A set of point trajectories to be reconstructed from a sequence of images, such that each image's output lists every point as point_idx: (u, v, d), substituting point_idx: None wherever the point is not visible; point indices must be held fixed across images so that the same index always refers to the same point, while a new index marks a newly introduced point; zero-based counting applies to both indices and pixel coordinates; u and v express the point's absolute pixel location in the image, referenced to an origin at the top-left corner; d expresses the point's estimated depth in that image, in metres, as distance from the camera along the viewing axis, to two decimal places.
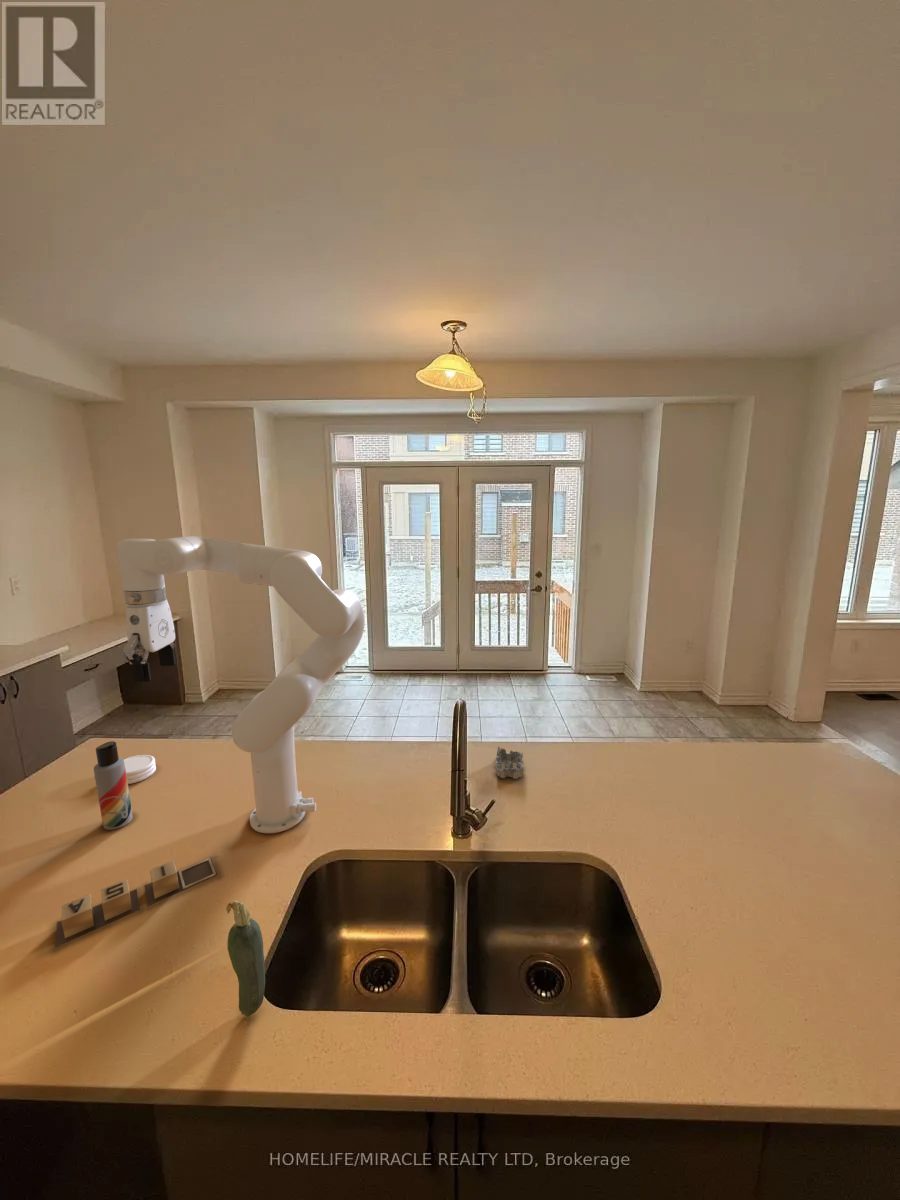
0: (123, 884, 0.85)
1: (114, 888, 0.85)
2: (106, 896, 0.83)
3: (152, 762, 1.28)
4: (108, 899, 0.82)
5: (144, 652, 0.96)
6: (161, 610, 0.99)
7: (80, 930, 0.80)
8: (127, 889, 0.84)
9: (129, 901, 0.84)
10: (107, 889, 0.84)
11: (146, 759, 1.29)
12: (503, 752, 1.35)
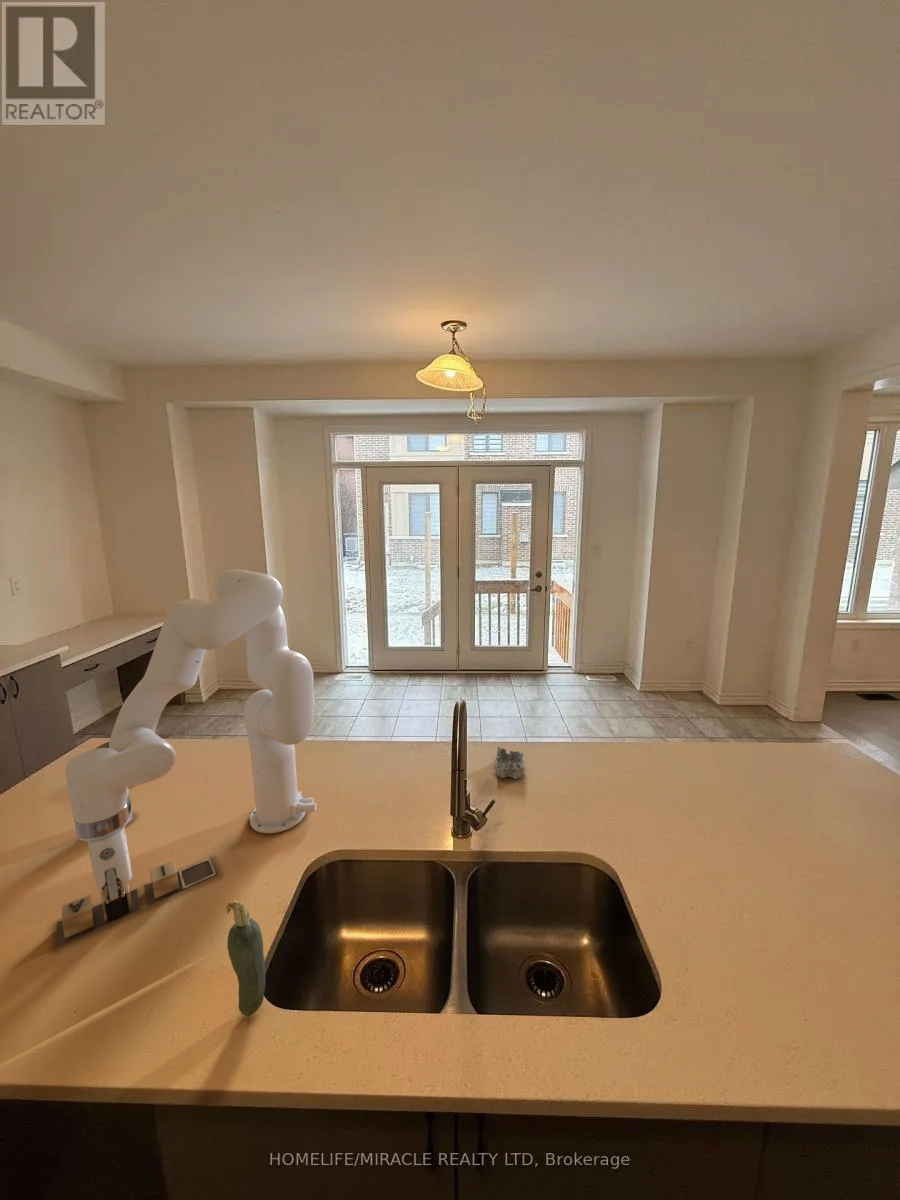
0: (123, 884, 0.85)
1: None
2: None
3: None
4: None
5: (121, 885, 0.82)
6: None
7: (80, 930, 0.80)
8: (127, 889, 0.84)
9: (129, 901, 0.84)
10: None
11: None
12: (503, 752, 1.35)
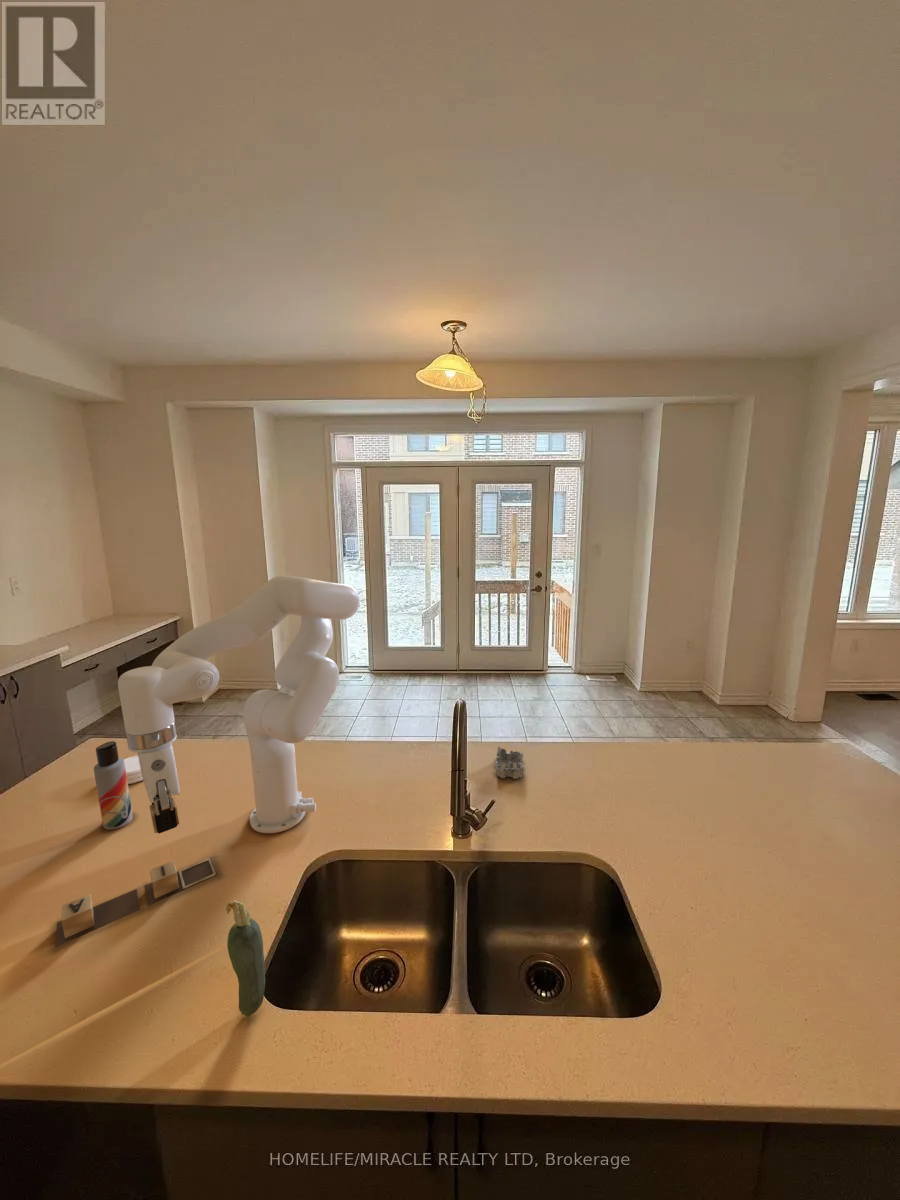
0: None
1: None
2: (155, 810, 0.86)
3: None
4: None
5: (170, 799, 0.85)
6: None
7: (80, 930, 0.80)
8: (174, 805, 0.87)
9: (177, 816, 0.87)
10: None
11: None
12: (503, 752, 1.35)
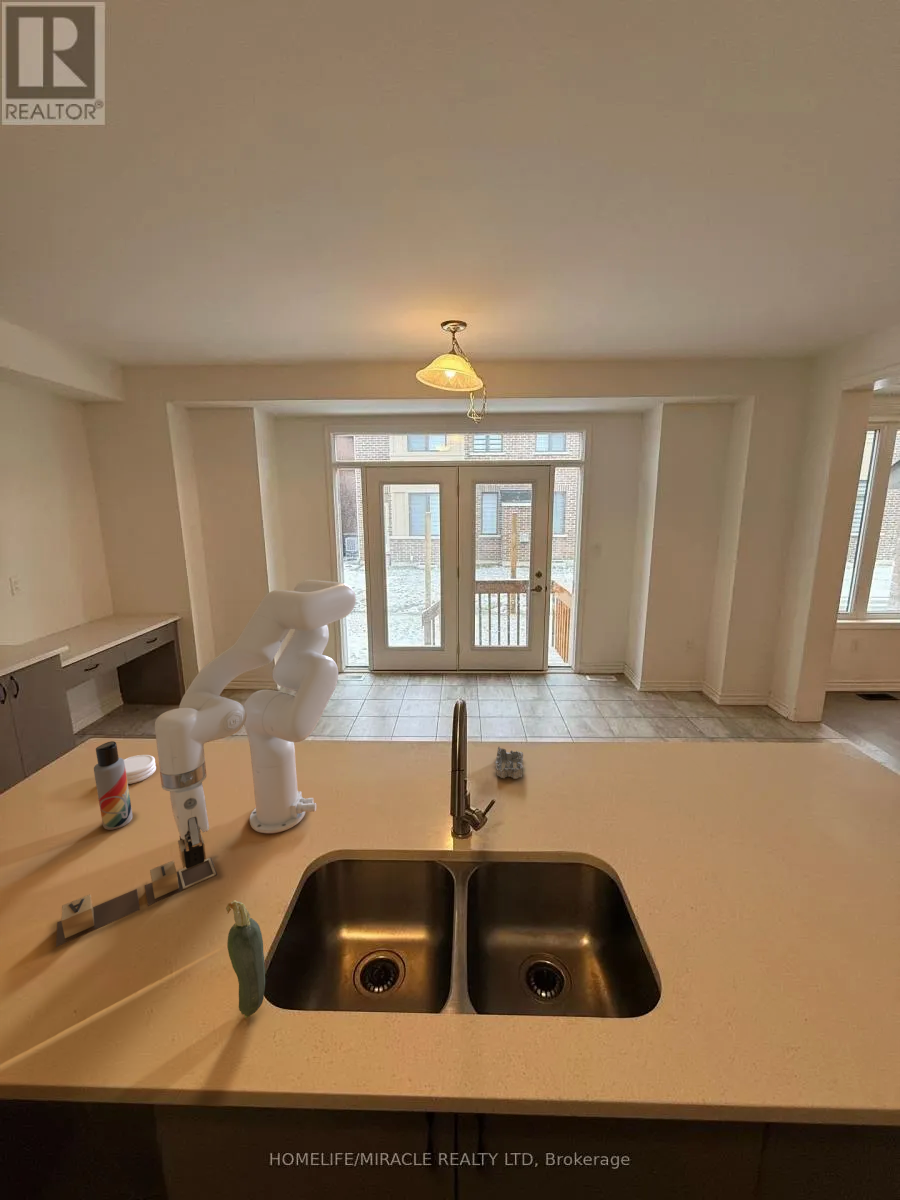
0: None
1: (190, 839, 0.91)
2: (184, 846, 0.90)
3: (152, 762, 1.28)
4: None
5: (199, 835, 0.89)
6: None
7: (80, 930, 0.80)
8: (202, 840, 0.91)
9: (204, 851, 0.91)
10: (183, 840, 0.91)
11: (146, 759, 1.29)
12: (503, 752, 1.35)
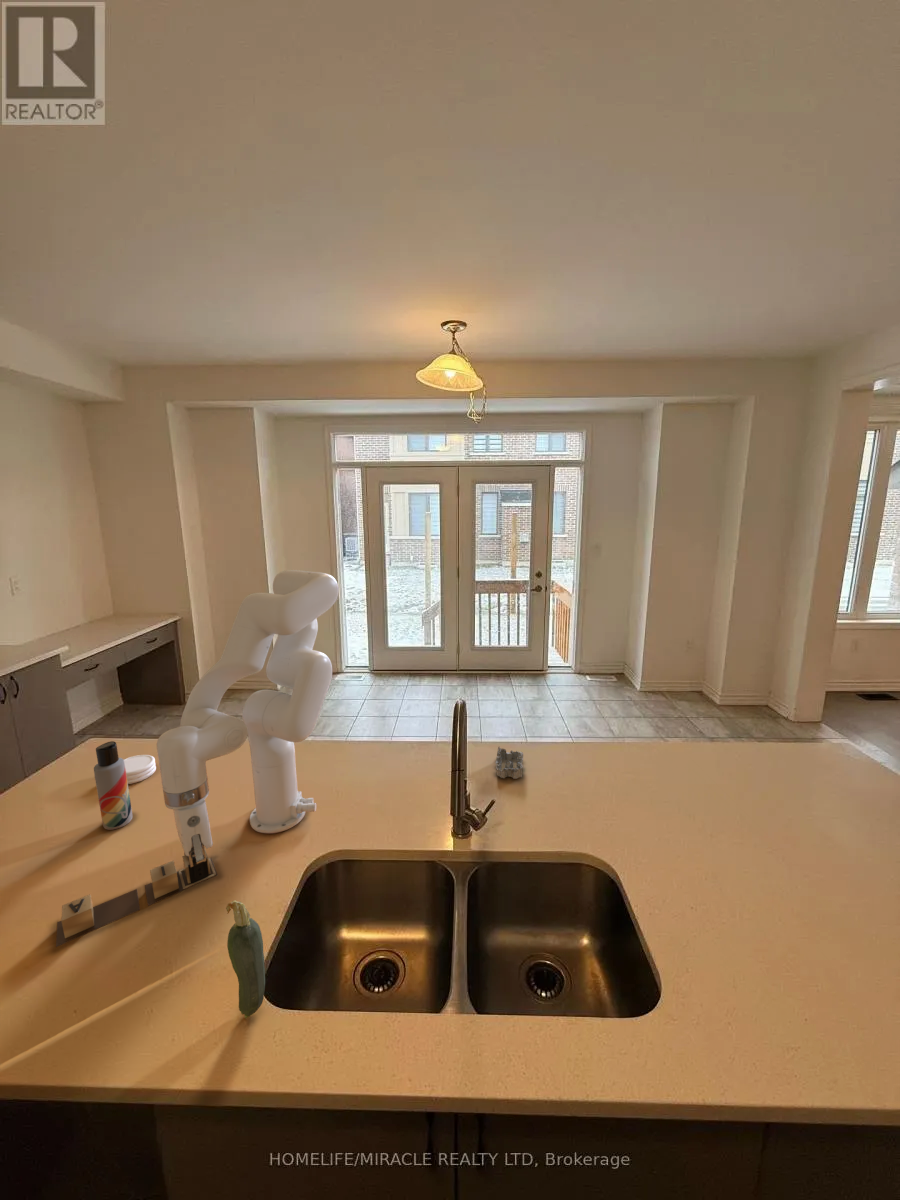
0: None
1: (194, 855, 0.93)
2: (188, 861, 0.91)
3: (152, 762, 1.28)
4: None
5: (203, 851, 0.90)
6: None
7: (80, 930, 0.80)
8: (206, 855, 0.92)
9: (208, 866, 0.92)
10: None
11: (146, 759, 1.29)
12: (503, 752, 1.35)
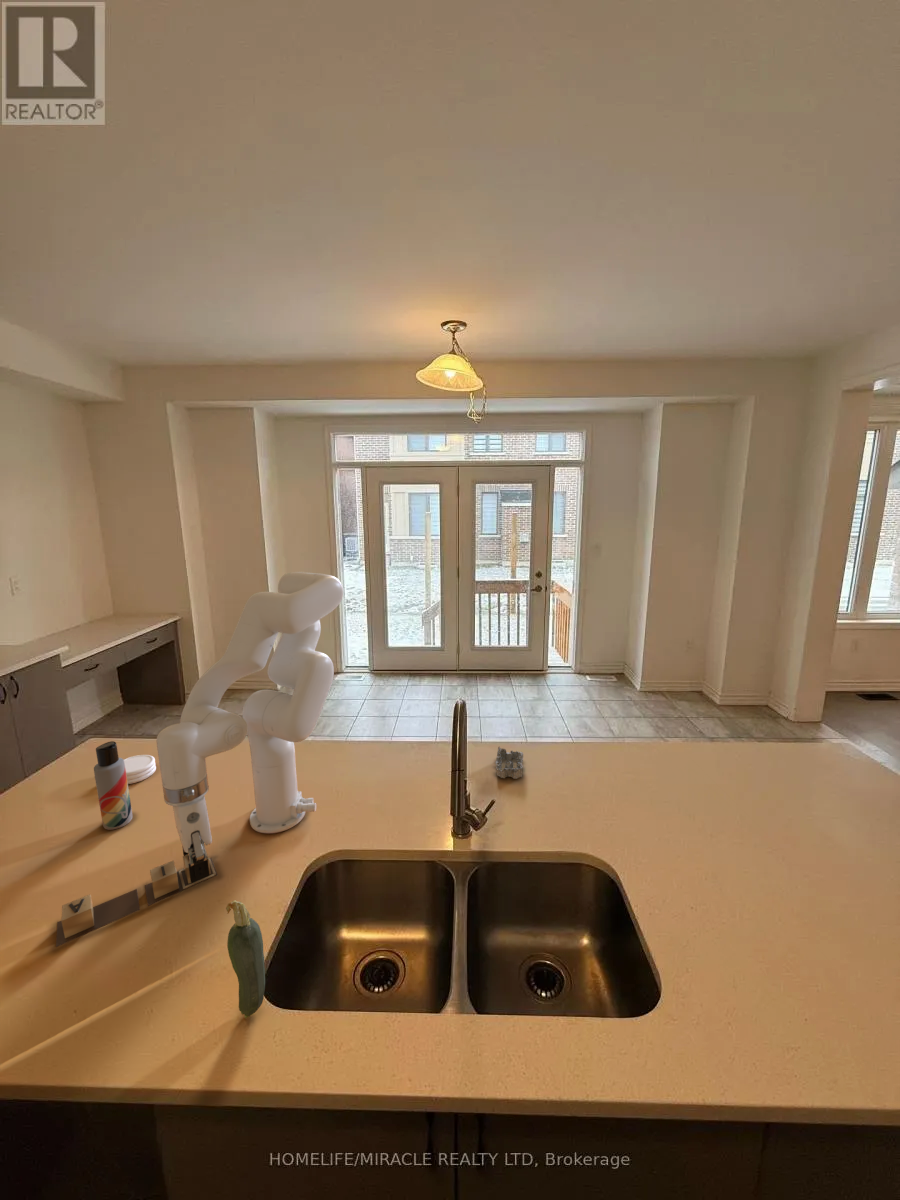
0: None
1: None
2: (188, 861, 0.91)
3: (152, 762, 1.28)
4: None
5: (203, 848, 0.89)
6: None
7: (80, 930, 0.80)
8: None
9: None
10: (188, 856, 0.92)
11: (146, 759, 1.29)
12: (503, 752, 1.35)
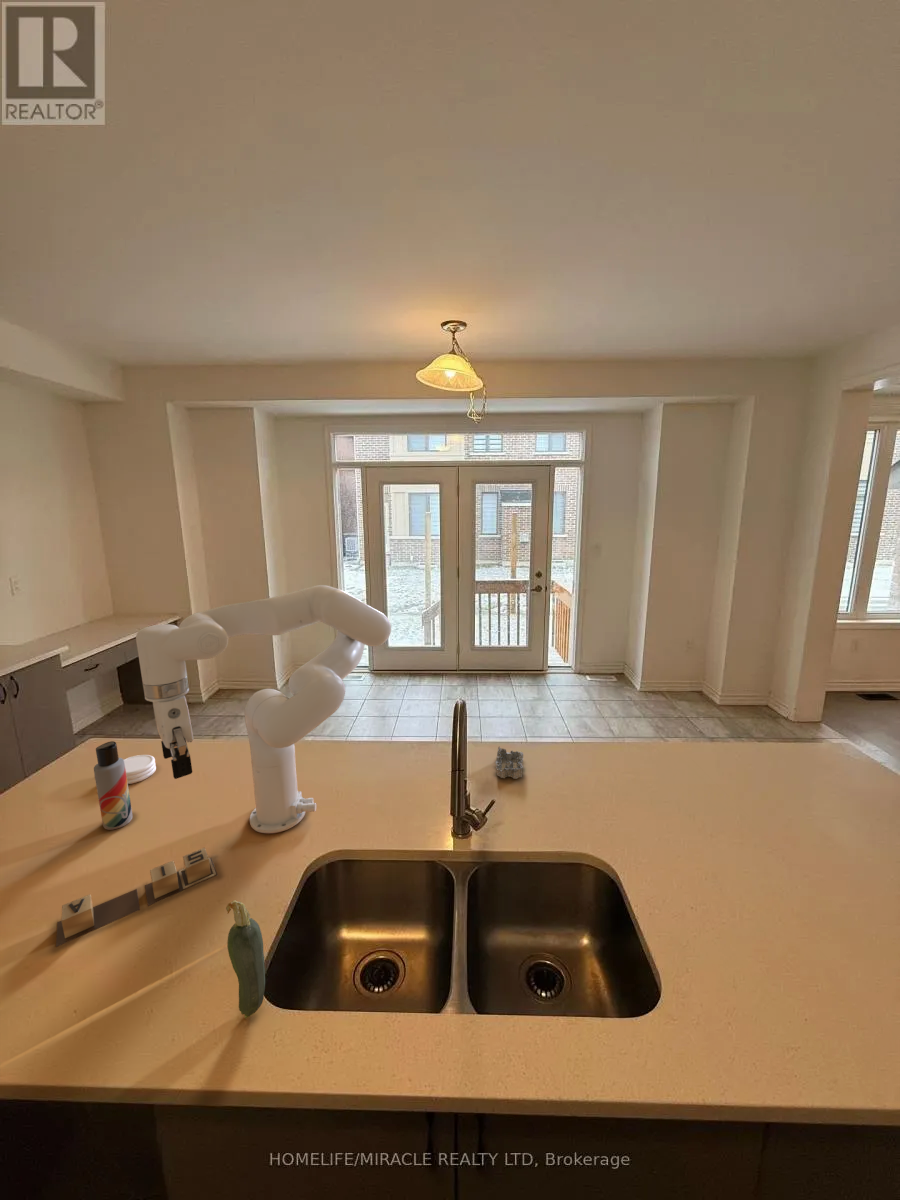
0: (202, 852, 0.93)
1: (195, 855, 0.93)
2: (188, 861, 0.91)
3: (152, 762, 1.28)
4: (191, 864, 0.90)
5: (185, 744, 0.91)
6: None
7: (80, 930, 0.80)
8: (206, 856, 0.92)
9: (208, 867, 0.92)
10: (188, 856, 0.92)
11: (146, 759, 1.29)
12: (503, 752, 1.35)
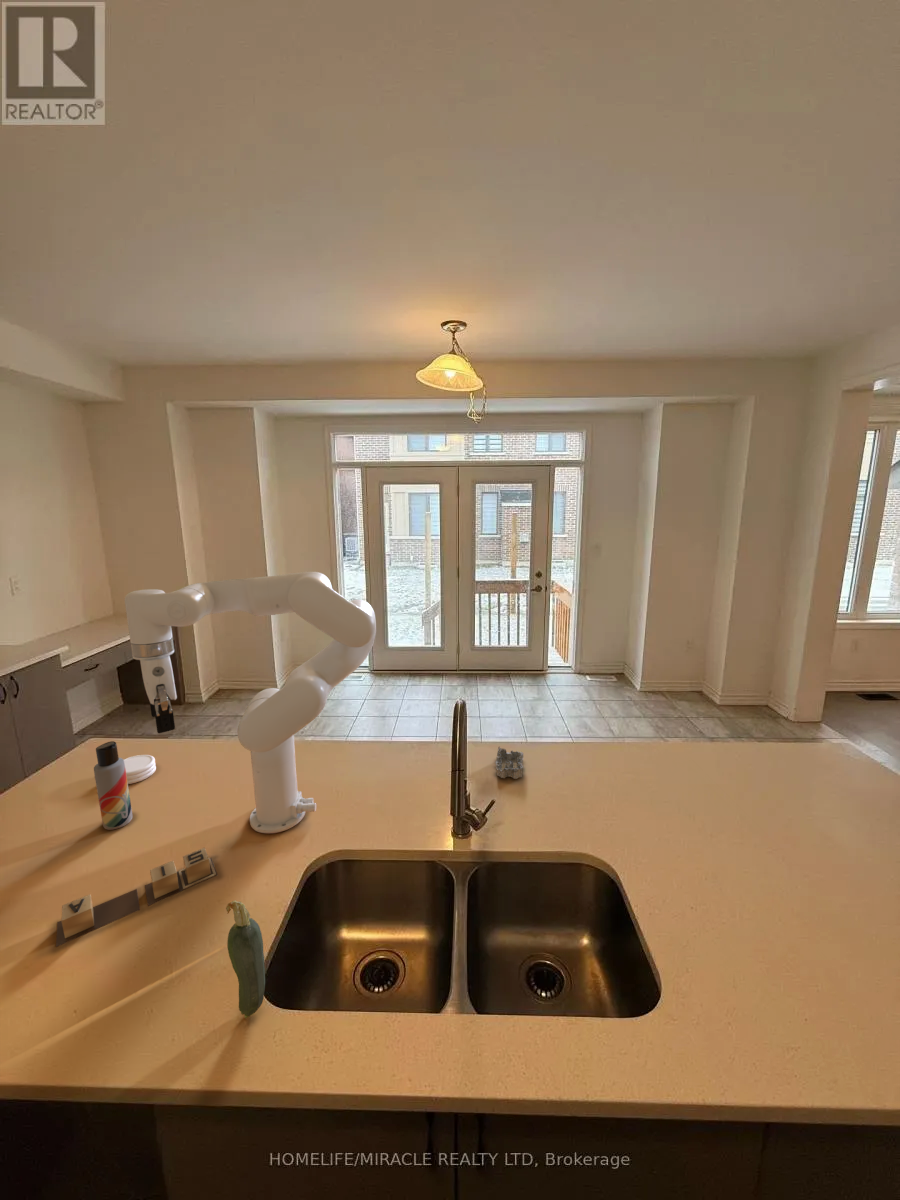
0: (202, 852, 0.93)
1: (195, 855, 0.93)
2: (188, 861, 0.91)
3: (152, 762, 1.28)
4: (191, 864, 0.90)
5: (168, 701, 0.97)
6: None
7: (80, 930, 0.80)
8: (206, 856, 0.92)
9: (208, 867, 0.92)
10: (188, 856, 0.92)
11: (146, 759, 1.29)
12: (503, 752, 1.35)
